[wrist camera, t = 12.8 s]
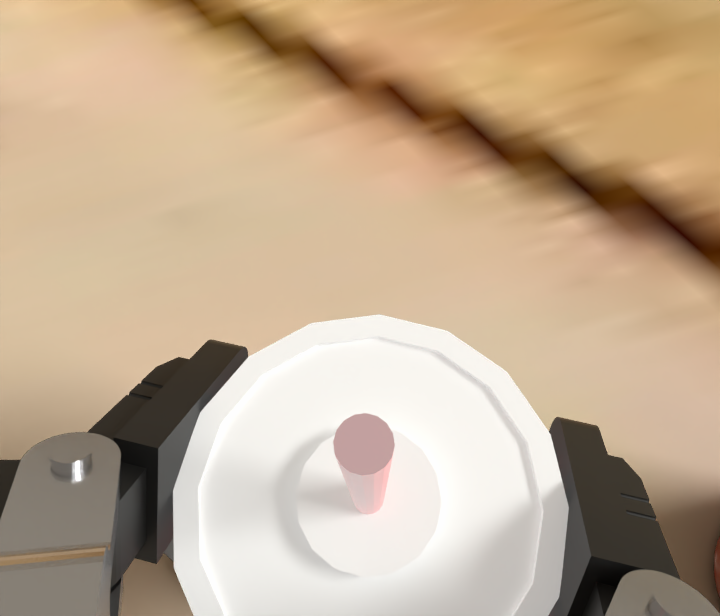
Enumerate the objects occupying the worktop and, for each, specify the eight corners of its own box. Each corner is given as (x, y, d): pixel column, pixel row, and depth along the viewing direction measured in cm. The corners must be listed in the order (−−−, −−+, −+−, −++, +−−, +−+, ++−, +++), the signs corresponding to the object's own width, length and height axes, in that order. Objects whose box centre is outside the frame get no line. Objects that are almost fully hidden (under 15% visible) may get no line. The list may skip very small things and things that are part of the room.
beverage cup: (475, 426, 19) (712, 133, 6) (477, 652, 16) (882, 1039, 3) (279, 414, 19) (71, 107, 6) (253, 635, 17) (-184, 930, 4)
